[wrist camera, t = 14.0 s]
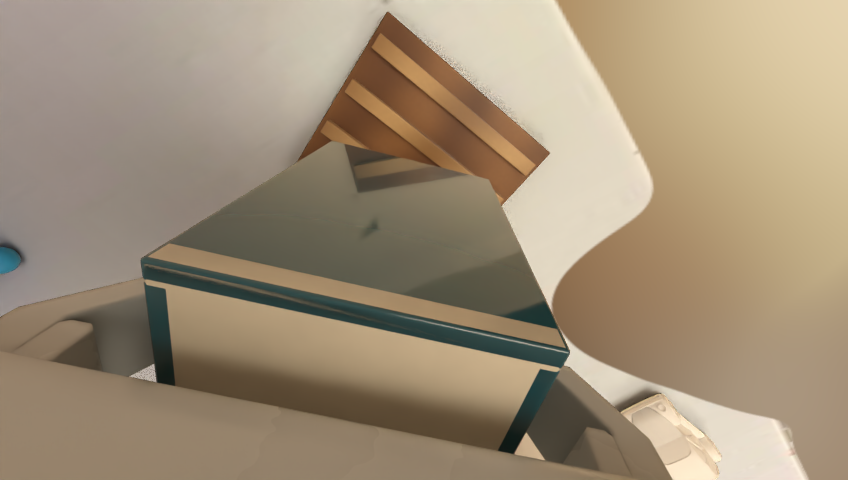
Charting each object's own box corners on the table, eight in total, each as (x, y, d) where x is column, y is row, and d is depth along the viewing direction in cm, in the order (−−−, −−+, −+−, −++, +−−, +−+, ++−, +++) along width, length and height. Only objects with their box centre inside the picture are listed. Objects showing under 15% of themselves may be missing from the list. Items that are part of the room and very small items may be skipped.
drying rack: (292, 173, 27) (285, 177, 26) (388, 13, 22) (385, 9, 21) (436, 272, 30) (435, 280, 29) (547, 151, 25) (553, 155, 24)
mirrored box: (442, 586, 9) (572, 352, 5) (176, 541, 8) (138, 258, 5) (440, 327, 18) (489, 179, 14) (312, 299, 17) (332, 140, 14)
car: (715, 443, 37) (750, 490, 33) (660, 466, 39) (687, 513, 35) (659, 381, 34) (690, 424, 30) (602, 410, 36) (623, 454, 32)
